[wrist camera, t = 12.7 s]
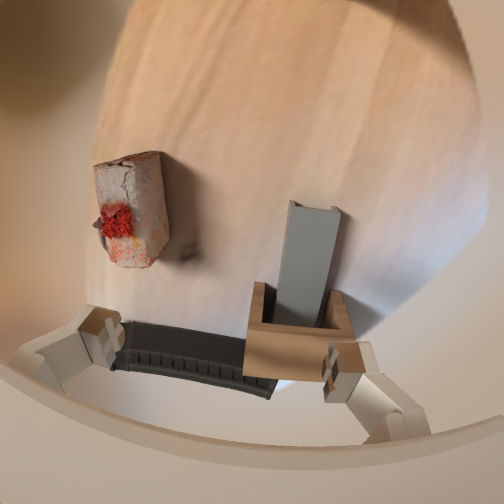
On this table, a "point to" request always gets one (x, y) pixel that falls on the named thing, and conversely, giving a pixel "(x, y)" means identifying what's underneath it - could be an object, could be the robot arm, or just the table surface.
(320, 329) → the wooden arch
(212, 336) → the magazine
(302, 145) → the table surface
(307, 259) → the grey channel riser
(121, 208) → the food item
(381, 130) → the table surface
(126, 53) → the table surface
